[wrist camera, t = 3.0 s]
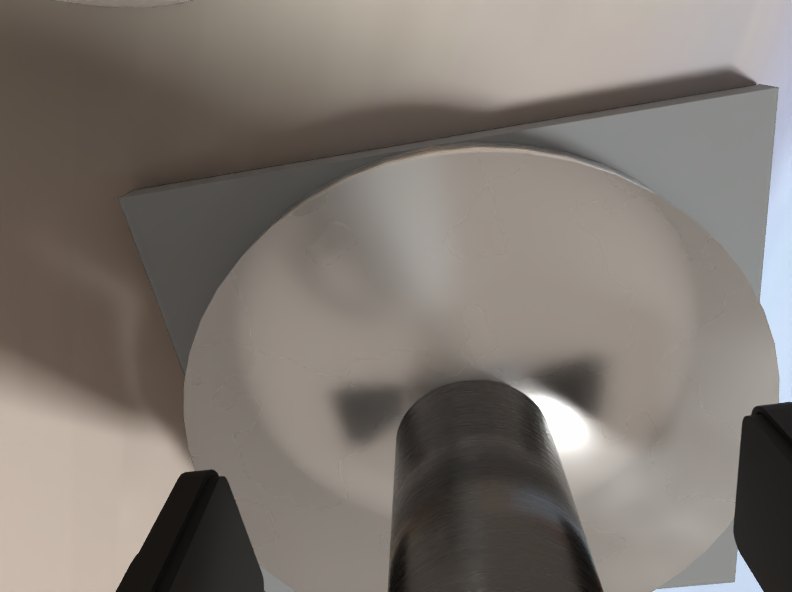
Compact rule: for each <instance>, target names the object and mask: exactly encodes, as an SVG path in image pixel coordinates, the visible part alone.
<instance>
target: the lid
mask: <svg viewBox="0 0 792 592" xmlns="http://www.w3.org/2000/svg"><path fill="white" fill-rule="evenodd" d="M777 403H779V371H778V364H777V357H776V350H775V343H774V340H773V337H772V334H771V331H770V328H769V325H768V322H767V319H766V316H765V312H764V310H763V308H762V306H761V304H760V302H759V300H758V298H757V296H756V295H755V293H754V291H753V289H752V287H751V285H750V283H749V281H748V279H747V277H746V276H745V275H744V274H743V272H742V271H741V270H740V268H739V267H738V266H737V264H736V263H735V262H734V261H733V259H732V258H731V257H730V255H729V254H728V253H727V251H726V250H725V249H724V247H723V246H722V245H721V244H719V243H718V242H717V241H716V240H715V239H714V238H713V237H712V236H711V235H710V234H709V233H708V232H707V231H706V230H705V229H703V228H702V227H701V226H700V225H699V224H698V223H697V222H696V221H695V220H694V219H693V218H691V217H690V216H688V215H687V214H686V213H684V212H683V211H681V210H680V209H678V208H677V207H675V206H674V205H673V204H671V203H670V202H668V201H667V200H665V199H664V198H662V197H661V196H659V195H658V194H656V193H655V192H653V191H652V190H651V189H649V188H648V187H646V186H645V185H643V184H642V183H640V182H639V181H637V180H635V179H633V178H631V177H629V176H627V175H625V174H622V173H620V172H618V171H616V170H614V169H612V168H610V167H608V166H606V165H604V164H602V163H599V162H596V161H593V160H589V159H586V158H583V157H580V156H577V155H574V154H570V153H567V152H564V151H561V150H555V149H550V148H544V147H538V146H532V145H526V144H520V143H499V142H465V143H455V144H445V145H435V146H428V147H424V148H420V149H415V150H411V151H407V152H403V153H398V154H394V155H390V156H386V157H384V158H381V159H379V160H376V161H373V162H371V163H368V164H365V165H363V166H360V167H358V168H355V169H352V170H350V171H348V172H346V173H344V174H342V175H340V176H338V177H337V178H335V179H333V180H331V181H329V182H327V183H325V184H324V185H322V186H320V187H318V188H316V189H314V190H313V191H311V192H310V193H309V194H307V195H306V196H305V197H303V198H302V199H300V200H299V201H298V202H296V203H295V204H294V205H292V206H291V207H290V208H288V209H287V210H286V211H284V212H283V213H282V214H280V215H279V216H278V217H277V218H276V219H275V220H274V221H273V222H272V223H271V224H270V225H269V226H268V227H267V228H266V229H265V230H264V231H263V232H262V233H261V234H260V235H259V236H258V237H257V238H256V239H255V240H254V241H253V243H252V244H251V245H250V246H249V248H248V249H247V250H246V252H245V253H244V254H243V255H242V257H241V258H240V259H239V261H238V262H237V263H236V265H235V266H234V267H233V269H232V270H231V271H230V273H229V274H228V275H227V277H226V278H225V279H224V281H223V282H222V283H221V285H220V286H219V287H218V289H217V291H216V293H215V294H214V296H213V298H212V300H211V302H210V304H209V306H208V308H207V310H206V311H205V313H204V315H203V317H202V319H201V321H200V324H199V327H198V330H197V333H196V335H195V338H194V341H193V344H192V347H191V350H190V353H189V359H188V364H187V370H186V376H185V382H184V423H185V430H186V437H187V444H188V449H189V452H190V455H191V459H192V462H193V465H194V468H195V471H201V470H210V469H212V470H215V471H216V472H217V473H218V475H219V476H225V477H226V478H227V480H228V482H229V485H230V488H231V490H232V493H233V496H234V499H235V501H236V504H237V507H238V509H239V512H240V515H241V518H242V520H243V523H244V526H245V528H246V531H247V534H248V536H249V539H250V542H251V545H252V547H253V550H254V553H255V555H256V558H257V561H258V563H259V564H260V565H261V566H262V567H264V568H265V569H266V570H267V571H268V572H269V573H271V574H272V575H273V576H275V577H276V578H278V579H279V580H280V581H282V582H283V583H284V584H286V585H287V586H289V587H290V588H291V589H293V590H295V591H296V592H652V591H654V590H655V589H657V588H658V587H660V586H661V585H663V584H664V583H666V582H667V581H669V580H670V579H672V578H673V577H675V576H676V575H677V574H679V573H680V572H682V571H683V570H684V569H685V568H686V567H687V566H689V565H690V564H691V563H692V562H693V561H695V560H696V559H697V558H698V557H699V556H700V555H702V554H703V553H704V552H705V551H706V550H707V549H708V548H709V547H710V546H711V545H712V544H713V543H714V541H715V540H716V539H717V538H718V537H719V536H720V535H721V534H722V533H723V532H724V531H725V530H726V529H727V527H728V526H729V525H730V523H731V522H732V520H733V519H734V514H735V502H736V490H737V478H738V466H739V453H740V441H741V429H742V421H743V418H744V417H745V416H748V415H751V413H752V410H753V408H754V407H756V406H760V405H768V404H777Z"/></svg>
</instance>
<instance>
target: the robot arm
mask: <svg viewBox="0 0 792 592" xmlns="http://www.w3.org/2000/svg"><path fill="white" fill-rule="evenodd" d="M733 533H734V539H735V542H736V545H737V548H738V550H739V552H740V554H741V555H742V557H743V559H744V560H745V562H746V563H747V565H748V567H749V568H750V570H751V572H752V573H753V575H754V577H755V578H756V580H757V581H758V583H759V585H760V586H761V588H762V590H763V591H764V592H792V402H785V403H777V404H768V405H760V406H756V407H754V408H753V410H752V413H751V415H748V416H745V417H744V418H743V421H742V429H741V441H740V453H739V466H738V478H737V490H736V502H735V514H734V526H733ZM116 592H264V579H263V575H262V572H261V569H260V566H259V564H258V561H257V558H256V555H255V553H254V550H253V547H252V545H251V542H250V539H249V536H248V534H247V531H246V528H245V526H244V523H243V520H242V518H241V515H240V512H239V509H238V507H237V504H236V501H235V499H234V496H233V493H232V490H231V488H230V485H229V482H228V480H227V478H226V477H225V476H219V475H218V473H217V472H216V471H215V470H212V469H210V470H201V471H193V472H185V473H183V474H181V475H180V477H179V478H178V480H177V482H176V484H175V486H174V488H173V489H172V491H171V493H170V495H169V497H168V499H167V501H166V503H165V505H164V506H163V508H162V510H161V512H160V514H159V516H158V518H157V520H156V521H155V523H154V525H153V527H152V529H151V531H150V533H149V535H148V536H147V538H146V540H145V542H144V544H143V546H142V548H141V550H140V552H139V553H138V554H137V555H136V557H135V558H134V559H133V561H132V562H131V564H130V566H129V568H128V570H127V572H126V573H125V575H124V577H123V579H122V581H121V583H120V585H119V587H118V588H117V590H116Z"/></svg>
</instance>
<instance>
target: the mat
mask: <svg viewBox="0 0 792 592" xmlns="http://www.w3.org/2000/svg"><path fill="white" fill-rule="evenodd" d="M778 89H779V87H773V86H767V85H761V84H759V85H753V86H747V87H741V88H735V89H729V90H723V91H717V92H711V93H705V94H700V95H694V96H688V97H682V98H676V99H670V100H664V101H658V102H652V103H646V104H640V105H635V106H629V107H623V108H617V109H611V110H605V111H599V112H593V113H587V114H581V115H575V116H570V117H564V118H558V119H552V120H546V121H540V122H534V123H528V124H522V125H516V126H511V127H505V128H499V129H493V130H487V131H481V132H475V133H469V134H463V135H457V136H451V137H446V138H440V139H434V140H428V141H422V142H416V143H410V144H404V145H398V146H392V147H386V148H381V149H375V150H369V151H363V152H357V153H351V154H345V155H339V156H333V157H327V158H321V159H316V160H310V161H304V162H298V163H292V164H286V165H280V166H274V167H268V168H262V169H256V170H251V171H245V172H239V173H233V174H227V175H221V176H215V177H209V178H203V179H197V180H191V181H186V182H180V183H174V184H168V185H162V186H156V187H150V188H144V189H138V190H132V191H131V192H129V193H127V194H125V195H124V196H122V197H120V198H118V199H119V201H120V204H121V207H122V209H123V212H124V215H125V217H126V220H127V223H128V225H129V228H130V231H131V233H132V236H133V239H134V241H135V244H136V247H137V249H138V252H139V255H140V258H141V260H142V263H143V266H144V268H145V271H146V274H147V276H148V279H149V282H150V284H151V287H152V290H153V292H154V295H155V298H156V300H157V303H158V306H159V308H160V311H161V314H162V316H163V319H164V322H165V324H166V327H167V330H168V332H169V335H170V338H171V341H172V343H173V346H174V349H175V351H176V354H177V357H178V359H179V362H180V365H181V367H182V370H183V373H184V375H185V376H186V370H187V364H188V359H189V353H190V350H191V347H192V344H193V341H194V338H195V335H196V333H197V330H198V327H199V324H200V321H201V319H202V317H203V315H204V313H205V311H206V310H207V308H208V306H209V304H210V302H211V300H212V298H213V296H214V294H215V293H216V291H217V289H218V287H219V286H220V285H221V283H222V282H223V281H224V279H225V278H226V277H227V275H228V274H229V273H230V271H231V270H232V269H233V267H234V266H235V265H236V263H237V262H238V261H239V259H240V258H241V257H242V255H243V254H244V253H245V252H246V250H247V249H248V248H249V246H250V245H251V244H252V243H253V241H254V240H255V239H256V238H257V237H258V236H259V235H260V234H261V233H262V232H263V231H264V230H265V229H266V228H267V227H268V226H269V225H270V224H271V223H272V222H273V221H274V220H275V219H276V218H277V217H278V216H279V215H280V214H282V213H283V212H284V211H286V210H287V209H288V208H290V207H291V206H292V205H294V204H295V203H296V202H298V201H299V200H300V199H302V198H303V197H305V196H306V195H307V194H309V193H310V192H311V191H313V190H314V189H316V188H318V187H320V186H322V185H324V184H325V183H327V182H329V181H331V180H333V179H335V178H337V177H338V176H340V175H342V174H344V173H346V172H348V171H350V170H352V169H355V168H358V167H360V166H363V165H365V164H368V163H371V162H373V161H376V160H379V159H381V158H384V157H386V156H390V155H394V154H398V153H403V152H407V151H411V150H415V149H420V148H424V147H428V146H435V145H445V144H455V143H465V142H499V143H520V144H526V145H532V146H538V147H544V148H550V149H555V150H561V151H564V152H567V153H570V154H574V155H577V156H580V157H583V158H586V159H589V160H593V161H596V162H599V163H602V164H604V165H606V166H608V167H610V168H612V169H614V170H616V171H618V172H620V173H622V174H625V175H627V176H629V177H631V178H633V179H635V180H637V181H639V182H640V183H642V184H643V185H645V186H646V187H648V188H649V189H651V190H652V191H653V192H655V193H656V194H658V195H659V196H661V197H662V198H664V199H665V200H667V201H668V202H670V203H671V204H673V205H674V206H675V207H677V208H678V209H680V210H681V211H683V212H684V213H686V214H687V215H688V216H690V217H691V218H693V219H694V220H695V221H696V222H697V223H698V224H699V225H700V226H701V227H702V228H703V229H705V230H706V231H707V232H708V233H709V234H710V235H711V236H712V237H713V238H714V239H715V240H716V241H717V242H718V243H719V244H721V245H722V246H723V247H724V249H725V250H726V251H727V253H728V254H729V255H730V257H731V258H732V259H733V261H734V262H735V263H736V264H737V266H738V267H739V268H740V270H741V271H742V272H743V274H744V275H745V276H746V277H747V279H748V281H749V283H750V285H751V287H752V289H753V291H754V293H755V295H756V296H757V298H758V300H759V302H760V291H761V280H762V269H763V258H764V246H765V235H766V224H767V213H768V201H769V190H770V179H771V168H772V156H773V145H774V134H775V123H776V111H777V100H778ZM733 526H734V519H733V520H732V522H731V523H730V525H729V526H728V527H727V529H726V530H725V531H724V532H723V533H722V534H721V535H720V536H719V537H718V538H717V539H716V540H715V541H714V543H713V544H712V545H711V546H710V547H709V548H708V549H707V550H706V551H705V552H704V553H703V554H702V555H700V556H699V557H698V558H697V559H696V560H695V561H693V562H692V563H691V564H690V565H689V566H687V567H686V568H685V569H684V570H683V571H682V572H680V573H679V574H677V575H676V576H675V577H673V578H672V579H670V580H669V581H667V582H666V583H664V584H663V585H661V586H660V587H658V588H657V589H662V588H673V587H685V586H696V585H707V584H719V583H730V582H735V572H736V561H737V550H738V548H737V545H736V542H735V539H734V533H733ZM258 564H259V563H258ZM259 566H260V569H261V572H262V575H263V579H264V590H265V592H296V591H295V590H293V589H291V588H290V587H289V586H287V585H286V584H284V583H283V582H282V581H280V580H279V579H278V578H276V577H275V576H273V575H272V574H271V573H269V572H268V571H267V570H266V569H265V568H264V567H262V566H261V565H260V564H259Z"/></svg>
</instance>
